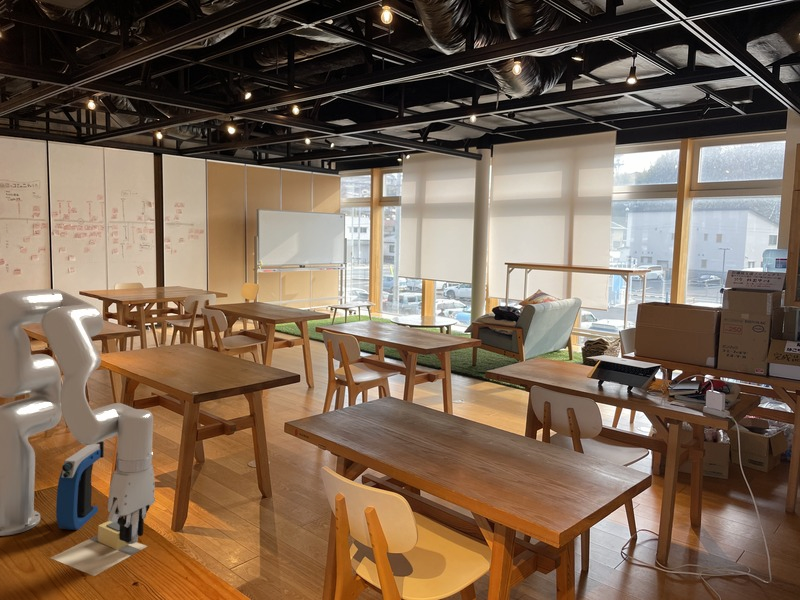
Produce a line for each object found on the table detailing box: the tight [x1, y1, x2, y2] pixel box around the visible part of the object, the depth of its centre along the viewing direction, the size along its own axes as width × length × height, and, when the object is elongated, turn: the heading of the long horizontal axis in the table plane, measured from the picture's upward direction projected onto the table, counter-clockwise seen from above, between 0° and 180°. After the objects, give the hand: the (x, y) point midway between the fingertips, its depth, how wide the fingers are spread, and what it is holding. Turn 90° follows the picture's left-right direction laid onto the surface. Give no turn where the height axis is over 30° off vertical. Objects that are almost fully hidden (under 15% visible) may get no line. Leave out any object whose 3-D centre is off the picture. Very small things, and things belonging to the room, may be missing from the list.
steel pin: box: [125, 509, 140, 544], centre depth 140 cm, size 3×3×9 cm
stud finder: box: [97, 520, 129, 550], centre depth 144 cm, size 7×4×4 cm, turn 63°
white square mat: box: [50, 534, 149, 577], centre depth 139 cm, size 14×15×1 cm
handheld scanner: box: [55, 440, 105, 531], centre depth 152 cm, size 5×16×20 cm, turn 2°
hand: (131, 536), depth 141 cm, fingers closed on steel pin, 2 cm apart
